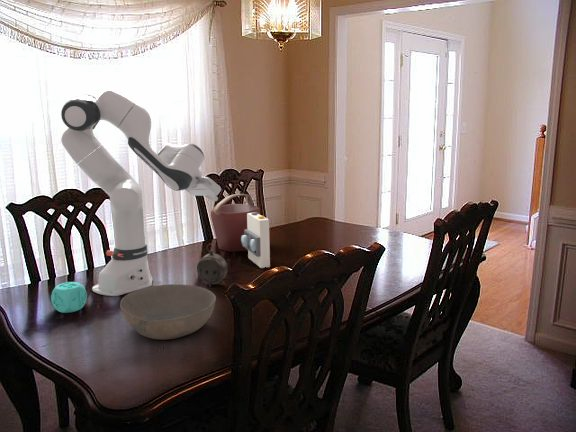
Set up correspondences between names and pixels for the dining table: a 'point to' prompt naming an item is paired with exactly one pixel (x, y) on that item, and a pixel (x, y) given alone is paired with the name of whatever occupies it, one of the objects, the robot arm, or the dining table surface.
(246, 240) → the button unlit
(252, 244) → the button lit
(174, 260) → the dining table surface
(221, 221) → the bucket
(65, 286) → the decorative dice
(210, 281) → the alarm clock
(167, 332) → the bowl
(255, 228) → the button panel
